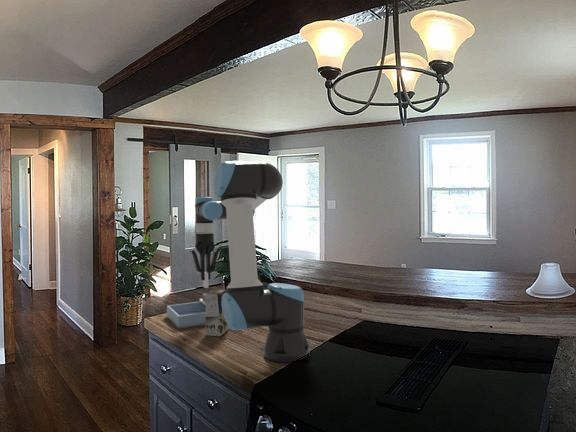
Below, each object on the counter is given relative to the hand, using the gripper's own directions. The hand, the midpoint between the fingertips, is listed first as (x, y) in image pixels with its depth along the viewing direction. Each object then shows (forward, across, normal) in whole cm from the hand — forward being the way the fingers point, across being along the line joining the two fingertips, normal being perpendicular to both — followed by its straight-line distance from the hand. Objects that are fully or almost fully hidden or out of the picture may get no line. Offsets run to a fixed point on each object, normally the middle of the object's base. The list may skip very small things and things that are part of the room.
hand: (205, 287), depth 188 cm
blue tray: (+13, +4, -1) cm, 14 cm away
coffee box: (+14, +2, +21) cm, 26 cm away
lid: (+8, -10, -1) cm, 13 cm away
